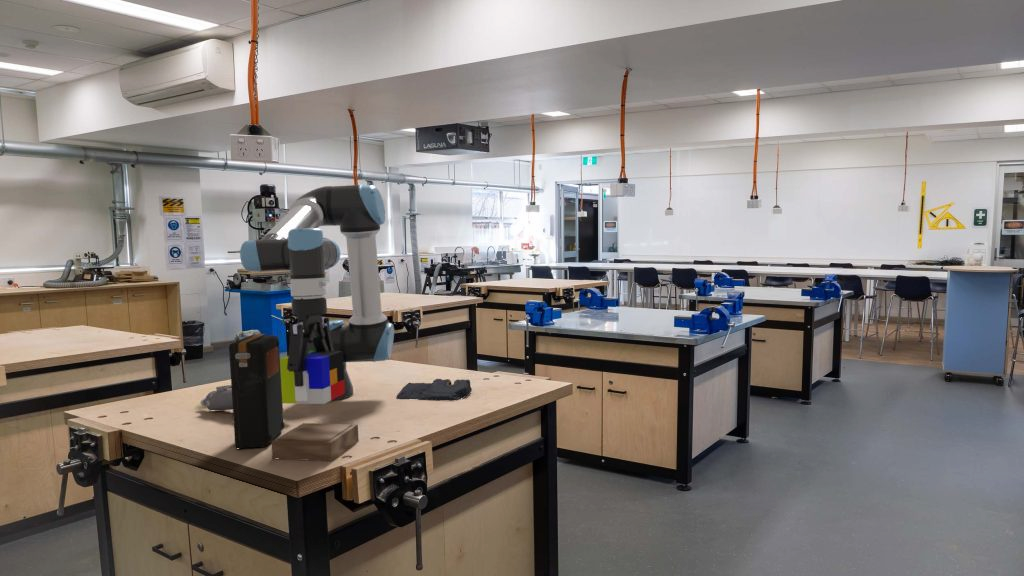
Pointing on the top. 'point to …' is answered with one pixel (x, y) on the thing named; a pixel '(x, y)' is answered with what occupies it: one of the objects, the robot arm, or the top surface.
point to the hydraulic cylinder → (219, 399)
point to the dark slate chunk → (436, 390)
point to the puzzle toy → (316, 378)
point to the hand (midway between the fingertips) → (314, 394)
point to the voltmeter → (256, 390)
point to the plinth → (315, 441)
